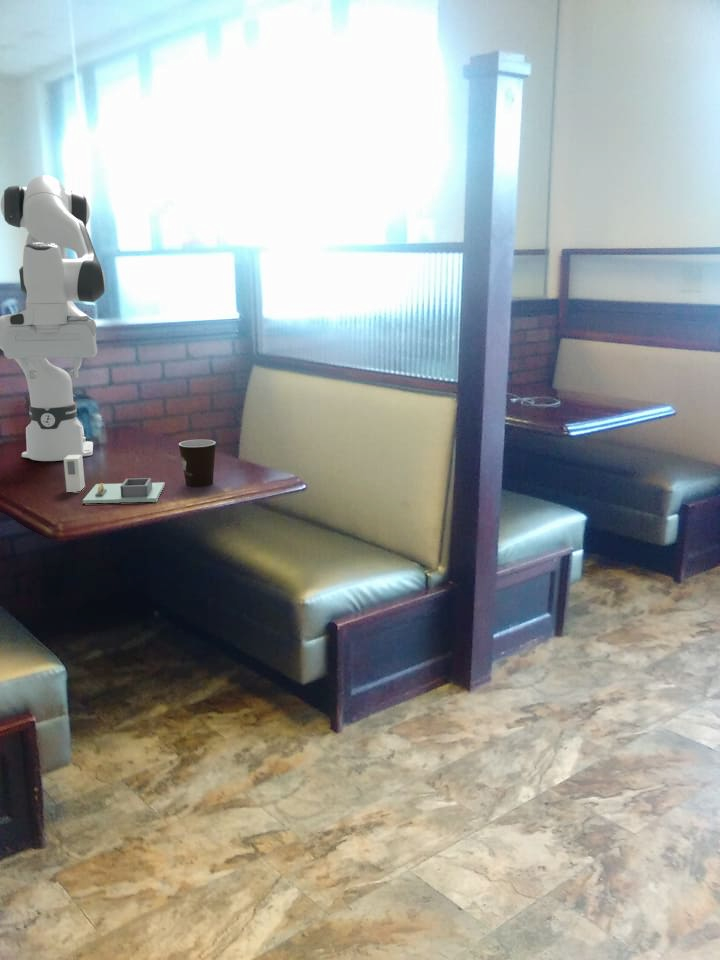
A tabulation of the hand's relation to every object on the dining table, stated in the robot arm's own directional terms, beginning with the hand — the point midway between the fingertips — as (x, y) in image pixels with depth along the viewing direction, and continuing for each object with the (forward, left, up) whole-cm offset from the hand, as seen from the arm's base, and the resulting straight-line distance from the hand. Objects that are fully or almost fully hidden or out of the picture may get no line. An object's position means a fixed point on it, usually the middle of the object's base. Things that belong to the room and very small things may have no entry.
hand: (53, 378), depth 199 cm
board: (+7, +15, -26) cm, 31 cm away
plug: (+1, +3, -26) cm, 26 cm away
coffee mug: (-3, +31, -27) cm, 41 cm away
